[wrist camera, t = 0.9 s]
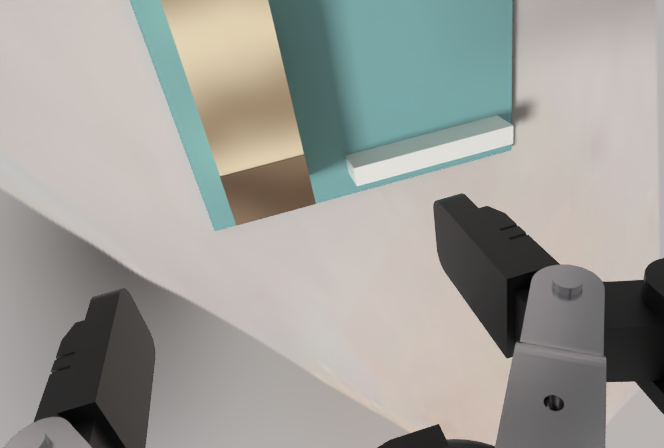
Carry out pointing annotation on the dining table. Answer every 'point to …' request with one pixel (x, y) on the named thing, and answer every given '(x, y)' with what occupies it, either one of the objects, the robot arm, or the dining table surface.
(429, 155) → the pair of grey bars
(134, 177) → the dining table surface
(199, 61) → the tan rectangular block
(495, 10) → the rubber mat
